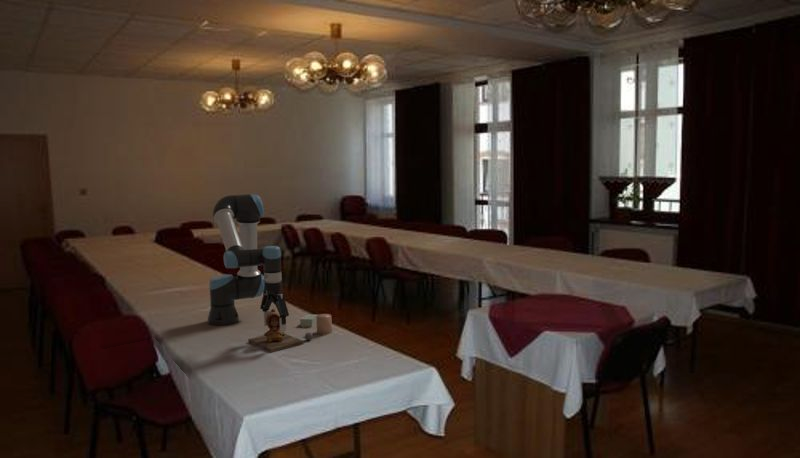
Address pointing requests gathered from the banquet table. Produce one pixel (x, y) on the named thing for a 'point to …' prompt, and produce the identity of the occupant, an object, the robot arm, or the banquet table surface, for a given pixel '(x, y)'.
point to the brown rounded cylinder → (324, 324)
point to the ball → (308, 336)
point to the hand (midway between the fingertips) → (275, 328)
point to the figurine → (274, 327)
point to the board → (275, 343)
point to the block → (308, 320)
